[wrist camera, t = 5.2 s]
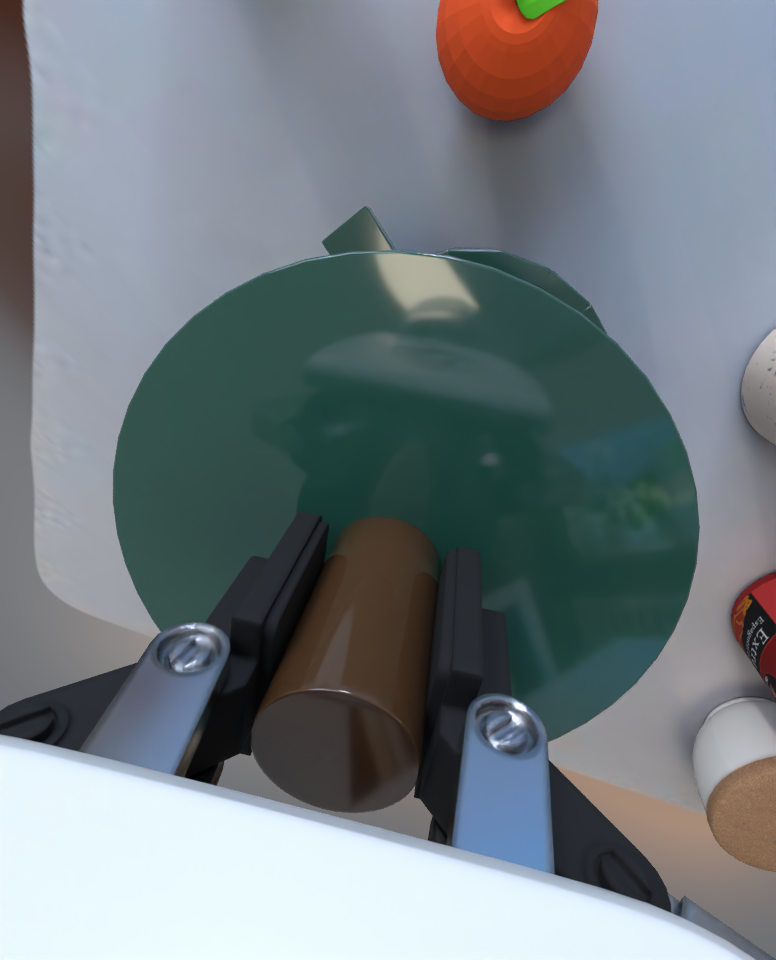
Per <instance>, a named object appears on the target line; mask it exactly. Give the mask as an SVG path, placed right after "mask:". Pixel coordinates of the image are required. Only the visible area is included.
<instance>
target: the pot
mask: <svg viewBox="0 0 776 960" xmlns="http://www.w3.org/2000/svg"><path fill="white" fill-rule="evenodd" d="M322 243H323V245H324V246H325V248H326V249H327V251H328V252H329V254H330V255H333V254H339V253H345V252H351V251H374V250H396V248H395V247H394V245H393V243H392V242H391V240H390V239H389V237H388V235H387V234H386V232H385V231H384V229H383V227H382V226H381V224H380V223H379V221H378V219H377V218H376V216H375V215H374V213H373V212H372V210H371V208H369V207H367V206H365V207H363V208H362V209H361V210H360V211H358V212H357V213H356V214H355V215H354V216H352V217H351V218H350V219H349V220H347V221H346V222H345V223H344V224H343V225H341V226H340V227H339V228H338V229H336V230H335V231H334V232H333V233H332V234H330V235H329V236H328V237H327V238H325V239H324V240H323V241H322ZM435 254H442V255H449V256H453V257H456V258H460V259H464V260H468V261H471V262H475V263H479V264H483V265H487V266H490V267H494V268H496V269H499V270H501V271H503V272H506V273H508V274H510V275H513V276H515V277H517V278H520V279H522V280H524V281H527V282H529V283H531V284H534V285H536V286H538V287H540V288H541V289H543V290H545V291H546V292H548V293H549V294H551V295H553V296H554V297H556V298H558V299H559V300H561V301H563V302H564V303H566V304H567V305H569V306H571V307H572V308H574V309H576V310H577V311H579V312H580V313H582V314H583V315H584V316H585V317H586V318H588V319H589V320H590V321H591V322H592V323H594V324H595V325H596V326H597V327H598V328H600V329H601V330H602V331H603V332H604V333H605V334H607V333H606V331H605V329H604V327H603V325H602V324H601V322H600V320H599V318H598V316H597V314H596V312H595V310H594V309H593V307H592V305H590V303H589V302H588V301H587V300H586V299H585V298H584V297H582V296H581V295H580V294H579V293H578V292H577V291H576V290H574V289H573V288H572V287H571V286H570V285H569V284H568V283H566V282H565V281H564V280H563V279H562V278H561V277H560V276H558V275H557V274H556V273H555V272H554V271H552V270H550V269H549V268H546V267H544V266H541V265H538V264H536V263H533V262H531V261H528V260H525V259H523V258H520V257H518V256H515V255H512V254H510V253H507V252H504V251H501V250H497V249H493V248H463V247H455V248H451V249H448V250H445V251H441V252H438V253H435Z"/></svg>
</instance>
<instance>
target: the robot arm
mask: <svg viewBox="0 0 776 960" xmlns="http://www.w3.org/2000/svg"><path fill="white" fill-rule="evenodd" d="M328 532H329V523H324V522H322V516H320V515H316V514H311V513H307V512H302V511H299V512H298V513H297V515H296V516H295V518H294V519H293V521H292V523H291V524H290V526H289V527H288V529H287V530H286V532H285V534H284V535H283V537H282V538H281V540H280V541H279V543H278V545H277V546H276V548H275V549H274V551H273V552H272V554H271V556H270V557H269V559H267V558H262V557H258V556H252V557H251V558H250V559H249V560H248V561H247V563H246V564H245V566H244V567H243V569H242V570H241V571H240V573H239V574H238V576H237V577H236V579H235V580H234V581H233V583H232V584H231V586H230V587H229V589H228V590H227V591H226V593H225V594H224V596H223V597H222V599H221V600H220V602H219V603H218V604H217V606H216V607H215V609H214V610H213V612H212V613H211V614H210V616H209V617H208V619H207V620H206V622H205V623H204V622H187V623H180V624H177V625H175V626H172V627H169V628H167V629H166V630H164V631H162V632H161V633H159V634H158V635H157V636H156V637H155V638H154V639H153V640H152V642H151V643H150V644H149V646H148V647H147V649H146V650H145V652H144V653H143V655H142V656H141V658H140V659H139V661H138V662H137V663H135V664H132V665H129V666H125V667H122V668H119V669H116V670H113V671H110V672H107V673H104V674H101V675H98V676H95V677H91V678H89V679H85V680H82V681H79V682H76V683H73V684H70V685H67V686H63V687H60V688H57V689H54V690H51V691H48V692H45V693H42V694H38V695H35V696H33V697H29V698H26V699H23V700H21V701H18V702H16V703H14V704H11V705H9V706H7V707H5V708H4V709H2V710H1V711H0V960H776V959H774V958H773V957H771V956H770V955H769V954H767V953H766V952H764V951H763V950H761V949H760V948H759V947H757V946H755V945H754V944H753V943H751V942H750V941H749V940H747V939H746V938H744V937H743V936H741V935H740V934H739V933H737V932H736V931H734V930H733V929H731V928H730V927H728V926H727V925H726V924H724V923H723V922H721V921H720V920H719V919H717V918H716V917H714V916H713V915H711V914H710V913H709V912H707V911H706V910H704V909H703V908H701V907H700V906H699V905H697V904H696V903H694V902H693V901H691V900H690V899H689V898H687V897H686V896H684V897H683V898H682V899H681V901H678V900H677V899H676V898H674V897H673V896H672V895H670V894H669V893H668V892H667V889H666V887H665V885H664V883H663V881H662V879H661V878H660V876H659V874H658V872H657V871H656V869H655V868H654V867H653V866H652V865H651V863H650V862H649V861H648V860H647V859H646V857H645V856H643V854H642V853H641V852H640V851H639V850H638V849H637V848H636V847H635V846H634V845H633V844H632V843H631V842H630V841H629V840H628V839H627V838H626V837H625V836H624V835H623V834H622V833H621V832H620V831H619V830H618V829H617V828H616V827H615V826H614V825H613V824H612V823H611V822H610V821H609V820H608V819H607V818H606V817H605V816H604V815H603V814H602V813H601V812H600V811H599V810H598V809H597V808H596V807H595V806H594V805H593V804H592V803H591V802H590V801H589V800H588V799H587V798H586V797H585V796H584V795H583V794H582V793H581V792H580V791H579V790H578V789H577V788H576V787H575V786H574V785H573V784H572V783H571V782H570V781H569V780H568V779H567V778H566V777H565V776H564V775H563V774H562V773H561V772H560V771H559V770H558V769H557V768H556V767H555V766H554V765H553V764H552V763H551V762H550V761H549V760H548V742H547V735H546V730H545V727H544V725H543V723H542V722H541V720H540V718H539V717H538V715H537V714H536V713H535V712H534V711H533V710H532V709H531V708H530V707H529V706H527V705H526V704H524V703H523V702H521V701H520V700H518V699H516V698H513V697H512V691H511V680H510V668H509V657H508V645H507V634H506V622H505V615H504V614H503V613H502V612H497V611H493V610H489V609H484V608H482V587H481V553H480V551H477V550H472V549H468V548H463V547H459V546H457V548H456V551H455V552H454V551H449V550H447V553H446V556H445V560H444V564H443V568H442V572H441V576H440V579H439V583H438V591H437V601H436V612H435V622H434V632H433V642H432V652H431V662H430V672H429V683H428V693H427V703H426V713H425V714H426V724H425V734H424V745H423V755H422V766H421V772H420V776H419V778H418V781H417V783H416V784H415V795H414V797H415V798H419V799H421V801H422V802H423V803H424V804H425V806H426V807H427V809H428V810H429V811H430V813H431V814H432V815H433V817H432V821H431V824H430V831H429V837H428V840H424V839H420V838H416V837H413V836H409V835H405V834H401V833H398V832H394V831H390V830H386V829H382V828H378V827H375V826H371V825H366V824H363V823H359V822H355V821H351V820H347V819H343V818H340V817H336V816H332V815H328V814H324V813H320V812H317V811H313V810H309V809H305V808H301V807H297V806H293V805H289V804H285V803H282V802H278V801H274V800H270V799H266V798H262V797H258V796H254V795H250V794H247V793H243V792H239V791H235V790H231V789H227V788H223V787H219V786H217V783H218V781H219V778H220V775H221V773H222V770H223V765H224V761H225V760H227V759H229V758H231V757H233V756H235V755H237V754H240V753H241V754H245V755H249V756H250V755H251V753H252V749H251V744H250V730H251V725H252V722H253V719H254V717H255V715H256V712H257V710H258V708H259V706H260V704H261V702H262V699H263V697H264V695H265V693H266V691H267V688H268V686H269V684H270V682H271V680H272V677H273V675H274V673H275V671H276V669H277V666H278V664H279V662H280V660H281V658H282V655H283V653H284V651H285V649H286V647H287V644H288V642H289V640H290V638H291V636H292V633H293V631H294V629H295V627H296V625H297V623H298V620H299V618H300V616H301V614H302V612H303V609H304V607H305V605H306V603H307V601H308V598H309V596H310V594H311V592H312V590H313V587H314V585H315V583H316V581H317V579H318V576H319V574H320V572H321V570H322V568H323V565H324V560H325V553H326V546H327V539H328Z"/></svg>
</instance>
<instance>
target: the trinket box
mask: <svg viewBox="0 0 776 960" xmlns="http://www.w3.org/2000/svg"><path fill="white" fill-rule="evenodd" d="M693 769H694V776H695V781H696V785H697V789H698V793H699V796H700V798H701V801H702V804H703V806H704V809H705V811H706V814H707V820H708V823H709V826H710V828H711V831H712V833H713V835H714V837H715V839H716V841H717V842H718V843H719V845H720V846H721V847H722V848H723V849H724V850H725V851H726V852H727V853H729V854H730V855H732V856H733V857H734V858H736V859H737V860H739V861H742V862H743V863H746V864H748V865H750V866H753V867H756V868H759V869H763V870H768V871H773V872H776V703H775V702H773V701H770V700H767V699H763V698H756V697H745V698H738V699H733V700H730V701H727V702H725V703H723V704H721V705H719V706H718V707H716V708H715V709H714V710H712V711H711V712H710V714H709V715H708V716H707V718H706V720H705V722H704V724H703V726H702V727H701V729H700V731H699V732H698V734H697V737H696V740H695V744H694V747H693Z"/></svg>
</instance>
